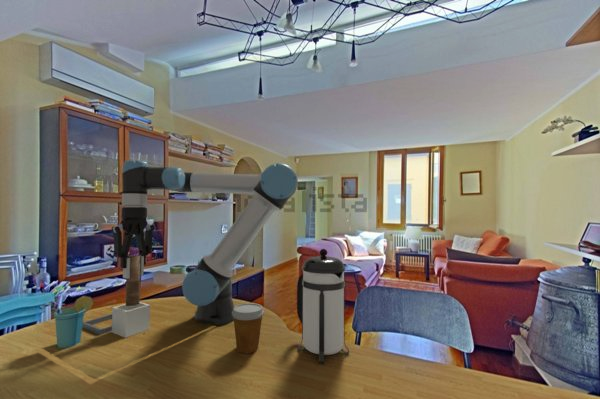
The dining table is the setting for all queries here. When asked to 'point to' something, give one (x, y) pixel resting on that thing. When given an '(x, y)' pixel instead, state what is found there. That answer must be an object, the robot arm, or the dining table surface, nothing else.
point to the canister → (130, 319)
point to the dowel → (133, 282)
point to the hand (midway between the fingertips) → (133, 276)
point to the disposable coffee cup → (247, 326)
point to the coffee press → (322, 305)
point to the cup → (70, 321)
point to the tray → (89, 326)
